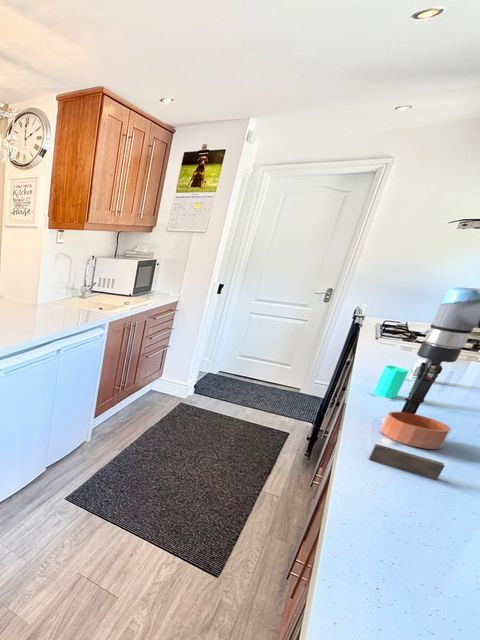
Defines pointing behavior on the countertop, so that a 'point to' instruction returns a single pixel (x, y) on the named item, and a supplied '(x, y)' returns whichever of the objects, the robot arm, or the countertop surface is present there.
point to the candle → (390, 381)
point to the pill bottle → (416, 369)
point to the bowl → (415, 430)
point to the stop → (406, 461)
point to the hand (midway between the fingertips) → (403, 420)
